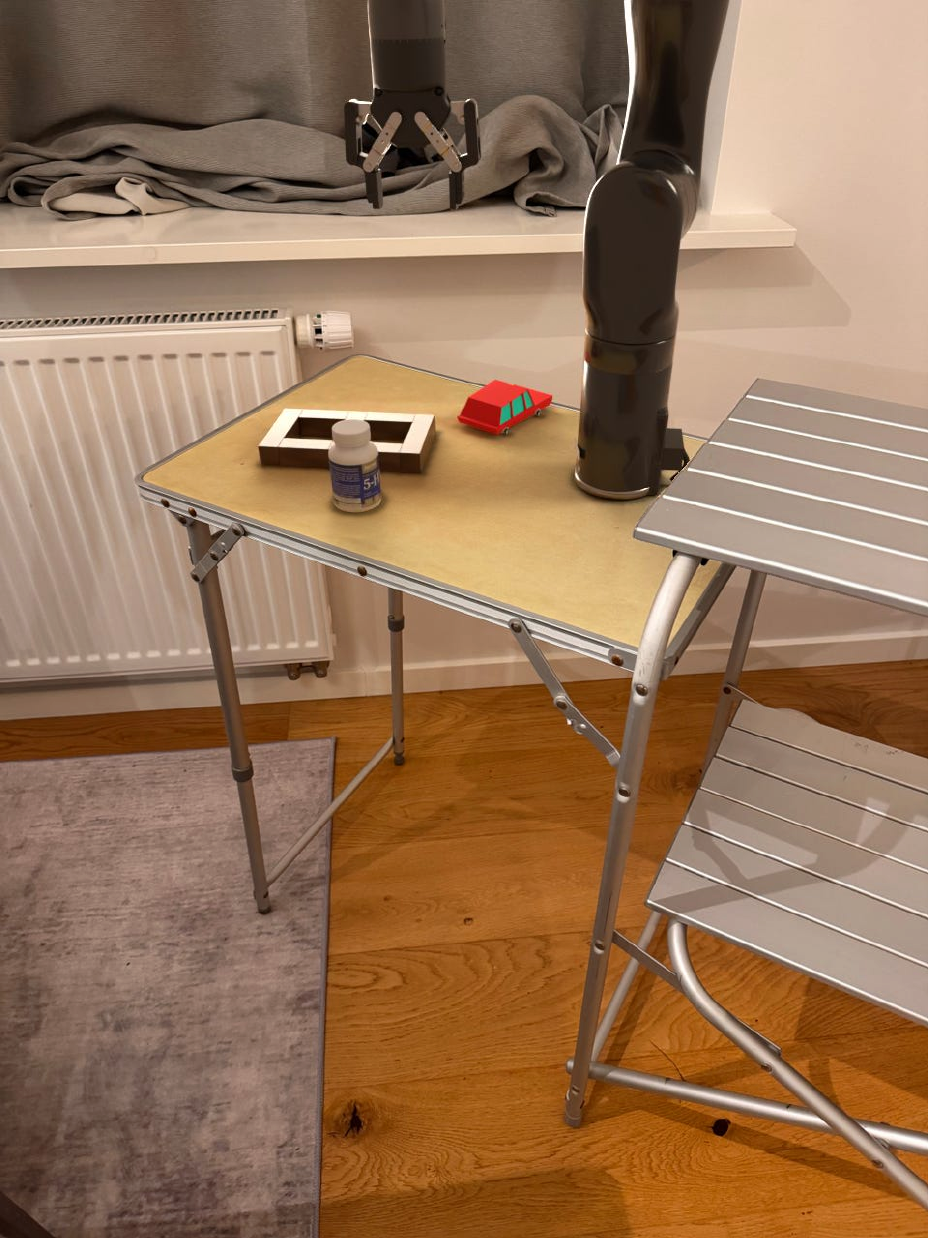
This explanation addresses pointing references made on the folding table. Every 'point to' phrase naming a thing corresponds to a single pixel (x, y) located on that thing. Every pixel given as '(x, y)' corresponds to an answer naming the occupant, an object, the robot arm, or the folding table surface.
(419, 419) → the peg board
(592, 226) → the robot arm
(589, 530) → the folding table surface
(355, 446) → the pill bottle
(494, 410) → the toy car
